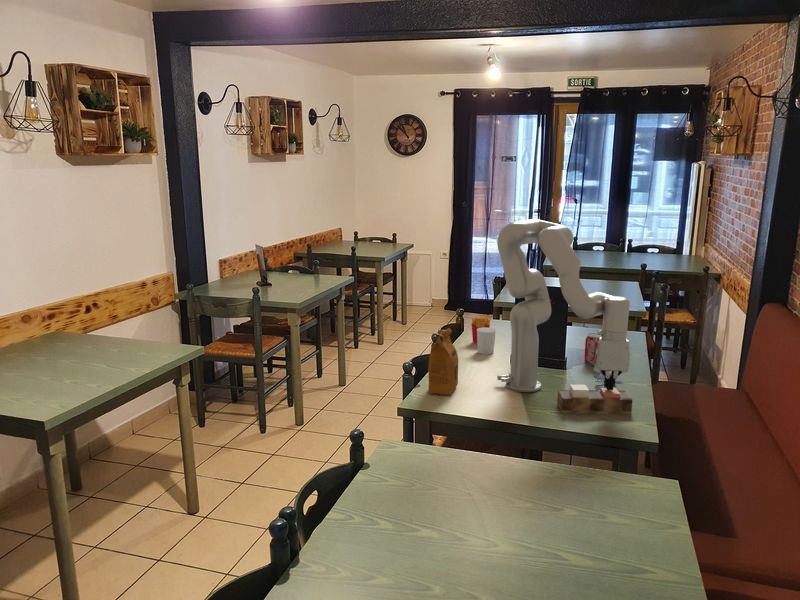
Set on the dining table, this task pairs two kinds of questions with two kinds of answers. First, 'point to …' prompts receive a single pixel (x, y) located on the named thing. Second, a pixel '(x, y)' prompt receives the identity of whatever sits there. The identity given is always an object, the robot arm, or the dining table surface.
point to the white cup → (485, 340)
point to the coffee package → (443, 365)
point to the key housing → (594, 403)
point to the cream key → (579, 391)
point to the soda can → (591, 348)
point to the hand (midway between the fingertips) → (609, 388)
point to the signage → (601, 380)
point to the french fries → (479, 325)
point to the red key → (609, 393)
